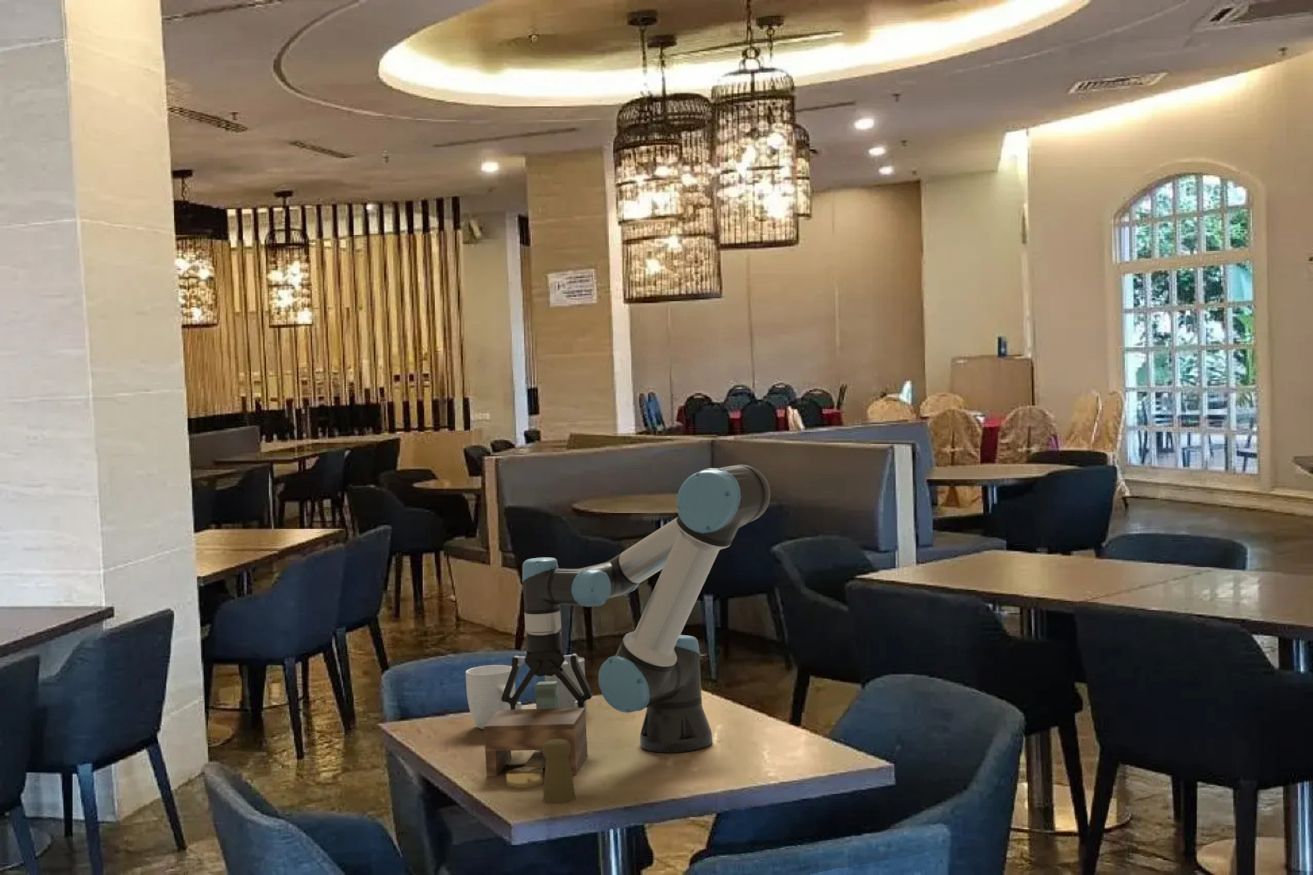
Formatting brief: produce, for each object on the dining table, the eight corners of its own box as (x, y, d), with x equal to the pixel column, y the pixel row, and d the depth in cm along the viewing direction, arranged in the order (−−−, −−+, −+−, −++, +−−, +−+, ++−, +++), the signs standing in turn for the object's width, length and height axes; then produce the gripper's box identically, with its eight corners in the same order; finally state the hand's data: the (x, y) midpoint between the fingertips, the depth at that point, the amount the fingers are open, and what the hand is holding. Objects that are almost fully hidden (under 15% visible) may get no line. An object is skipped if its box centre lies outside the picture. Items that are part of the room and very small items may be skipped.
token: (549, 781, 282) (549, 768, 282) (530, 791, 275) (529, 778, 275) (519, 778, 285) (518, 765, 285) (499, 788, 279) (499, 775, 279)
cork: (563, 805, 264) (559, 745, 264) (536, 801, 268) (533, 742, 267) (582, 796, 269) (578, 737, 269) (555, 792, 273) (552, 734, 272)
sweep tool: (542, 747, 308) (538, 681, 307) (560, 746, 307) (557, 681, 307) (519, 778, 284) (515, 707, 283) (539, 778, 283) (535, 707, 283)
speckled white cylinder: (586, 716, 334) (583, 663, 334) (544, 718, 334) (541, 665, 334) (588, 707, 344) (585, 655, 343) (548, 708, 344) (545, 657, 343)
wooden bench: (587, 755, 298) (584, 707, 298) (576, 774, 285) (573, 724, 284) (502, 757, 301) (499, 709, 300) (486, 776, 287) (483, 726, 286)
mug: (534, 729, 324) (530, 671, 323) (490, 738, 318) (486, 679, 317) (503, 718, 336) (500, 662, 336) (460, 726, 330) (457, 669, 330)
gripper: (602, 626, 307) (608, 727, 308) (491, 630, 310) (496, 730, 310) (597, 632, 299) (603, 736, 300) (483, 636, 302) (489, 739, 303)
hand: (549, 733), depth 305 cm, fingers open, 12 cm apart
